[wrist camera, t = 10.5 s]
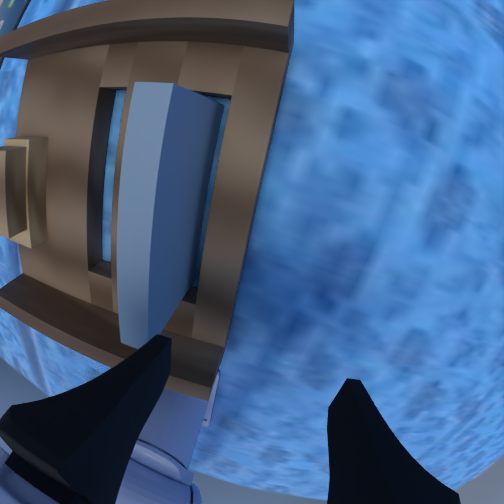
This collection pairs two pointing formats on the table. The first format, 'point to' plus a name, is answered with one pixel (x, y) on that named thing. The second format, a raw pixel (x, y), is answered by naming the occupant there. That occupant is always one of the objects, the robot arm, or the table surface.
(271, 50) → the rack
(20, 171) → the offcut top
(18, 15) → the tablet
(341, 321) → the table surface
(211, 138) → the sheet
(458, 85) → the table surface
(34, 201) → the block
